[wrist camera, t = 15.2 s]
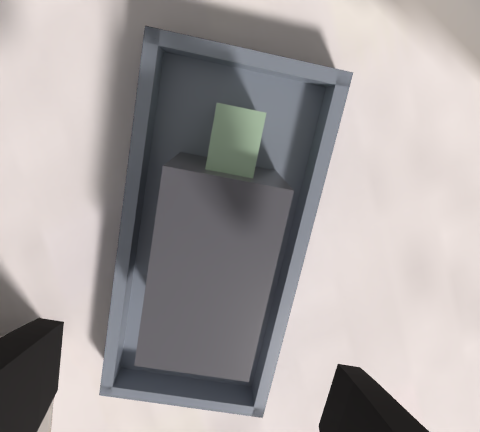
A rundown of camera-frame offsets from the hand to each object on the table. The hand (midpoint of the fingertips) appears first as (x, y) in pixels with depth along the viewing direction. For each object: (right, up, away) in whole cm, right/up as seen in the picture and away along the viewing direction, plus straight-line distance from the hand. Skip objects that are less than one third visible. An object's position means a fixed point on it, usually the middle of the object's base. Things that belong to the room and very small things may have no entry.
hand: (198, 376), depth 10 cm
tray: (0, +3, +9) cm, 10 cm away
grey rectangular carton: (0, +4, +9) cm, 10 cm away
